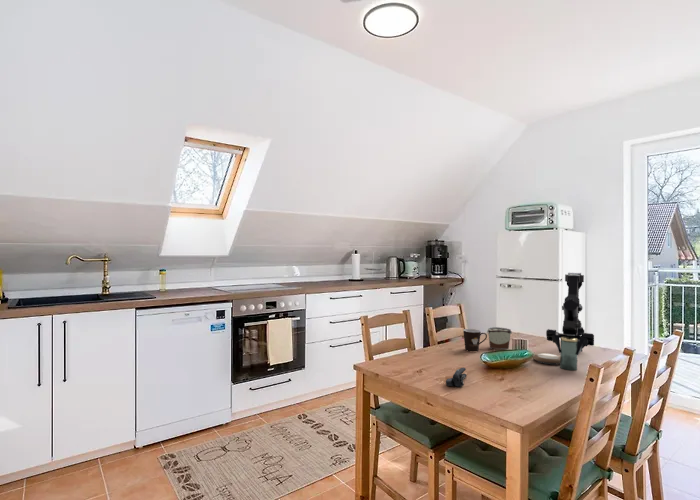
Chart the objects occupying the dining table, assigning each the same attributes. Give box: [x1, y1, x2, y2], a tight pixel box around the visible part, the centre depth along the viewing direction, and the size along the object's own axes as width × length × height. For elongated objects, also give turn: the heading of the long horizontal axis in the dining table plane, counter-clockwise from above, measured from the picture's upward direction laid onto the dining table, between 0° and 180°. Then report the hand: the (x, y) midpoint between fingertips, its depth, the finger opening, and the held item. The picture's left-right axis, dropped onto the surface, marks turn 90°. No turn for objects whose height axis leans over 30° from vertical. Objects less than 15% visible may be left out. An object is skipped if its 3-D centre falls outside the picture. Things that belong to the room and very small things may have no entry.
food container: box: [486, 326, 513, 350], centre depth 221 cm, size 12×6×10 cm, turn 84°
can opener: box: [445, 367, 467, 388], centre depth 164 cm, size 18×7×6 cm, turn 151°
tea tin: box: [559, 337, 578, 371], centre depth 184 cm, size 7×7×13 cm
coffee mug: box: [462, 328, 488, 352], centre depth 213 cm, size 12×9×10 cm
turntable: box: [532, 352, 560, 363], centre depth 194 cm, size 13×13×1 cm
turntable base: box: [535, 360, 560, 365], centre depth 194 cm, size 10×10×1 cm
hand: (568, 353), depth 182 cm, fingers closed on tea tin, 7 cm apart
